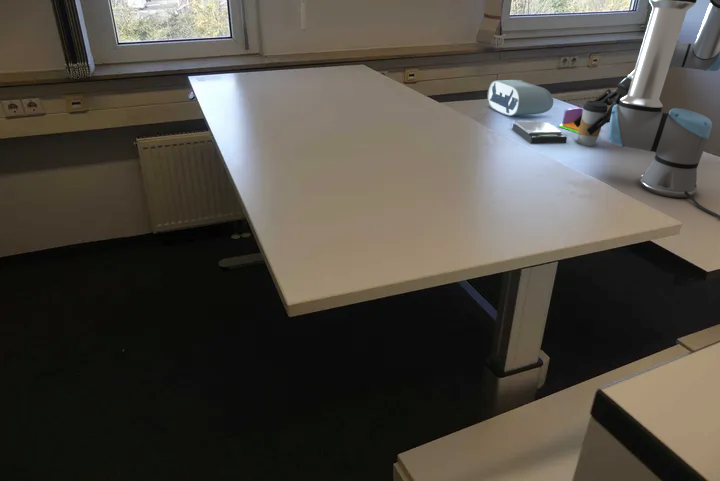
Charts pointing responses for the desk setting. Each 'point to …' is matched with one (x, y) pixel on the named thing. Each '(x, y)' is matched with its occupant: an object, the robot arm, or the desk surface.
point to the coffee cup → (591, 121)
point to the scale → (539, 132)
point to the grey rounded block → (518, 98)
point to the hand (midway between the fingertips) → (581, 128)
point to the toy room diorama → (571, 119)
